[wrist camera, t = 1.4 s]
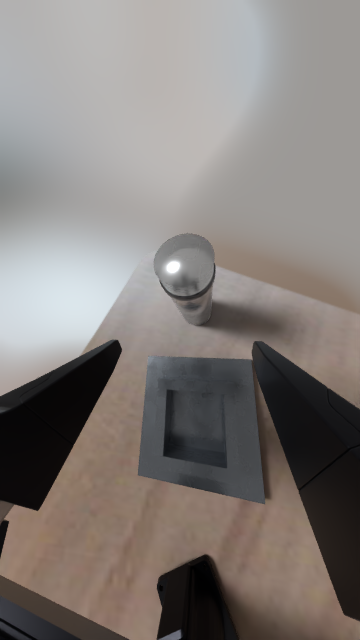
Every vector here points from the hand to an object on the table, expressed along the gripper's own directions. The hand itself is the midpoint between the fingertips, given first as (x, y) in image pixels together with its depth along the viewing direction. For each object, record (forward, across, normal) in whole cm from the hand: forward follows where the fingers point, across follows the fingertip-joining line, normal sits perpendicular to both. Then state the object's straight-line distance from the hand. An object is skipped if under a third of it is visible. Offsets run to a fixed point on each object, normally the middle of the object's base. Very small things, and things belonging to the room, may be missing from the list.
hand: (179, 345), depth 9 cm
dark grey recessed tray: (+3, 0, +15) cm, 15 cm away
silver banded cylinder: (+14, 0, +4) cm, 15 cm away
